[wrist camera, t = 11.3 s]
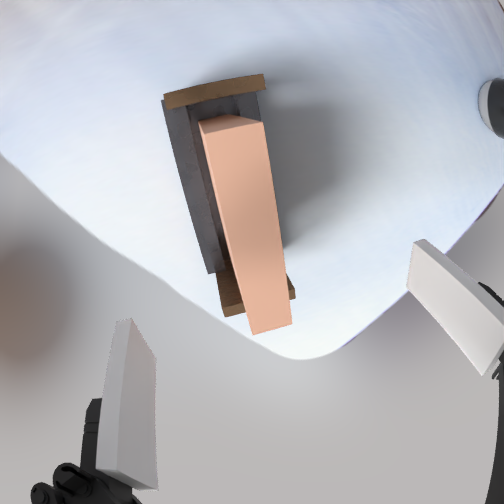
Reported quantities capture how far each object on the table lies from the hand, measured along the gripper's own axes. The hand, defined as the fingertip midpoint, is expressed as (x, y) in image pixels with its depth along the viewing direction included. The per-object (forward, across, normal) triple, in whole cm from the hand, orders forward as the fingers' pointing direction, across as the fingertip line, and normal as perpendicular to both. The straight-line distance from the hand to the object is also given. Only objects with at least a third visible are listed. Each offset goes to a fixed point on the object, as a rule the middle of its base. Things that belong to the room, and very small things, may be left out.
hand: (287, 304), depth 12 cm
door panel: (+20, 0, 0) cm, 20 cm away
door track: (+20, 0, 0) cm, 21 cm away
